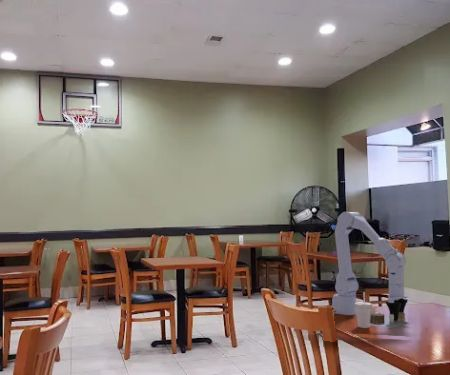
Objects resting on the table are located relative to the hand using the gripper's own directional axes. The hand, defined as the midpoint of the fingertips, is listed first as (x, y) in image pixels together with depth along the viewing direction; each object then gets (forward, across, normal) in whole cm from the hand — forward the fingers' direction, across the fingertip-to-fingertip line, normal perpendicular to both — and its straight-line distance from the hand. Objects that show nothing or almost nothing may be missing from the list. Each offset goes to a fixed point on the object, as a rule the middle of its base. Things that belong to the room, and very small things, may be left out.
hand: (397, 318), depth 188 cm
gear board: (+2, -5, +2) cm, 6 cm away
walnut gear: (+1, -8, +5) cm, 9 cm away
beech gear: (+1, 0, 0) cm, 1 cm away
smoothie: (+2, -18, +6) cm, 19 cm away
